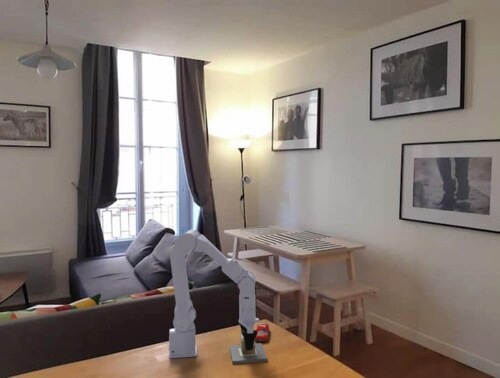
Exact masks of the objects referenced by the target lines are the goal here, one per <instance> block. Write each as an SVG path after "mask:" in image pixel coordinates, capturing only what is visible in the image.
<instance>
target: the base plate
mask: <svg viewBox="0 0 500 378" xmlns="http://www.w3.org/2000/svg"><path fill="white" fill-rule="evenodd" d="M262 343H263V342H256V343H255V354H247V355H242V351H241V344H232V345H229V352H230V357H231V363H232V365H236V364H237V365H238V364H248V363H249V364H251V363H262V362H263V363H264V362H268V356H267V353H266V351H265V349H264V347H263V346H264V345H263V344H262Z"/></svg>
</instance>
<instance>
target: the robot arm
mask: <svg viewBox="0 0 500 378" xmlns="http://www.w3.org/2000/svg"><path fill="white" fill-rule="evenodd" d="M192 250H194V252H199V253H200V252H201V253H205V254H206V255H207V256H209V257H210V258H211V259H212V260H213V261H215V262H216V263H218V265H220V266H221V271H222V272H223V274H225V275H226V276H227V277H228V278H229V279H231V280H232V282H234V283H236V284H237V287H238V289H239V296H238V301H239V302H238V303H239V304H238V305H239V313H238V314H239V315H238V316H239V319H238V321H237V322H238V324H239V326H240V334H241V333H242V335H243V337H244V341H245V347H246V350H247V351H248V350H252V349H253V345H254V340H255V337H256V335H257V333H258V331H257V330H256V329H254V327H255V325H256V323H259V322H260V319H259V318H258V317H256V316H257V315H256V289H255V288H256V281H257V279H256V276H255V275H254V273H253V272H252V271H249V269H248V268H246V269H245V267H243V266H242V265H241V264H240V263H239V262H240V261H239V260H238V259H237V258H236V259H234V258H233V257H232V258H228V257H226V256H225V255H224V253H222V252H221V251H220V249H218V248H217V247H216V246H215V245H214V244H213V243H212V242H211V241H210V240H208V238H207V237H206V236H205V235H203V234H201V232H200V231H199V230H197V229H194V228H193V229H192V228H191V229H189V230H187V231H186V232H184V233H182V234H181V235H180V236H178V238H177V239H175V242H174V245H173V248H172V249H171V251H170V254H169V258H170V267H171V275H172V282H173V289H174V299H175V307H174V312H173V313H174V316H173V317H174V318H173V321H172V324H173V327H174V328H170V329H169V335H168V351H169V359H175V358H176V359H178V358H180V359H181V358H193V357H194V358H195V357H197V356H198V351H197V350H198V347H197V345H196V325H195V323H194V321H195V319H196V318H197V311H196V309H195V308H194V305H193V301H192V300H191V296H190V287H189V281H188V279H189V278H188V273H187V272H188V271H187V264H186V256H187V255H188V254H189V253H190V252H191V251H192Z"/></svg>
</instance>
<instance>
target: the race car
mask: <svg viewBox="0 0 500 378" xmlns="http://www.w3.org/2000/svg"><path fill="white" fill-rule="evenodd" d="M255 330H257V331H258V333H257V335H256V337H255V342H256V343H265V342H268V339H269V335H270V324H268V323H266V322H265V323H262V322H260V323H258V324H257V326H256V328H255Z"/></svg>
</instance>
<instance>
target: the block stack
mask: <svg viewBox="0 0 500 378" xmlns="http://www.w3.org/2000/svg"><path fill="white" fill-rule="evenodd" d="M255 344H256V341H255V340H254V345H253V349H252V350H248V351H247V350H246V347H245V341H244V337H243V335H242V333H241V332H240V345H241V351H242V355H247V354H255Z"/></svg>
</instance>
